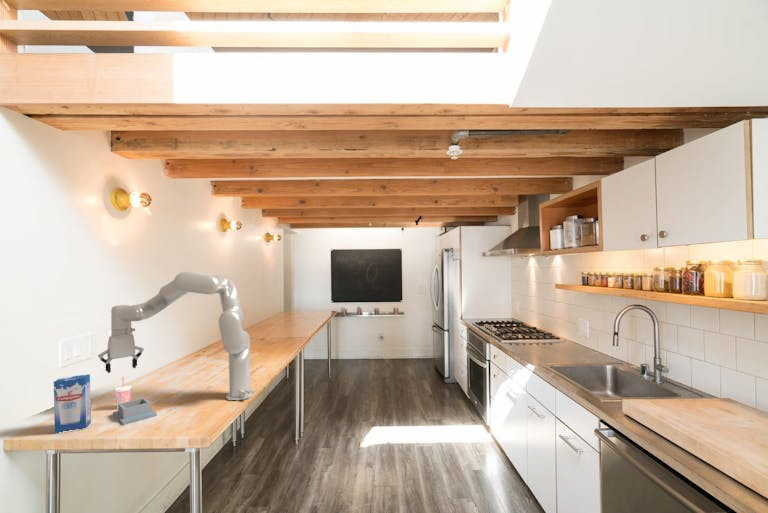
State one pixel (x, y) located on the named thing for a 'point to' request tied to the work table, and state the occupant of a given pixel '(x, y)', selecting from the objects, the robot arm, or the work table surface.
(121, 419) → the grey cup holder
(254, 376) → the work table surface
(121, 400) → the beverage cup
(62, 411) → the blue white food package
